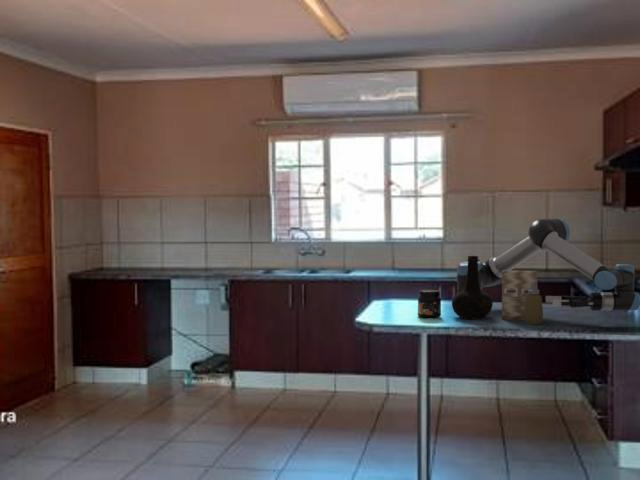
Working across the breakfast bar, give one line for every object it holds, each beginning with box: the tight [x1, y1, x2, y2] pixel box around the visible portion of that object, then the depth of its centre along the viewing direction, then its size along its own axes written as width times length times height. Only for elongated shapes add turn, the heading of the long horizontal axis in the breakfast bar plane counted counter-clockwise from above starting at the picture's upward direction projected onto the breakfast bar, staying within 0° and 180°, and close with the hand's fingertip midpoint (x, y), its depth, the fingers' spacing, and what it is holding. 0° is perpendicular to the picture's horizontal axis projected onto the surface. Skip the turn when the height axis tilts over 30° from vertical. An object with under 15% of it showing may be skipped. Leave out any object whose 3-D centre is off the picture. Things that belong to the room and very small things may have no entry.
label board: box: [501, 270, 538, 321], centre depth 334 cm, size 15×6×22 cm, turn 77°
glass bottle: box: [451, 255, 494, 320], centre depth 339 cm, size 18×18×28 cm
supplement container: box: [417, 289, 442, 319], centre depth 342 cm, size 10×10×12 cm
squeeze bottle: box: [524, 281, 544, 326], centre depth 321 cm, size 8×8×18 cm
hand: (549, 301), depth 320 cm, fingers open, 13 cm apart
